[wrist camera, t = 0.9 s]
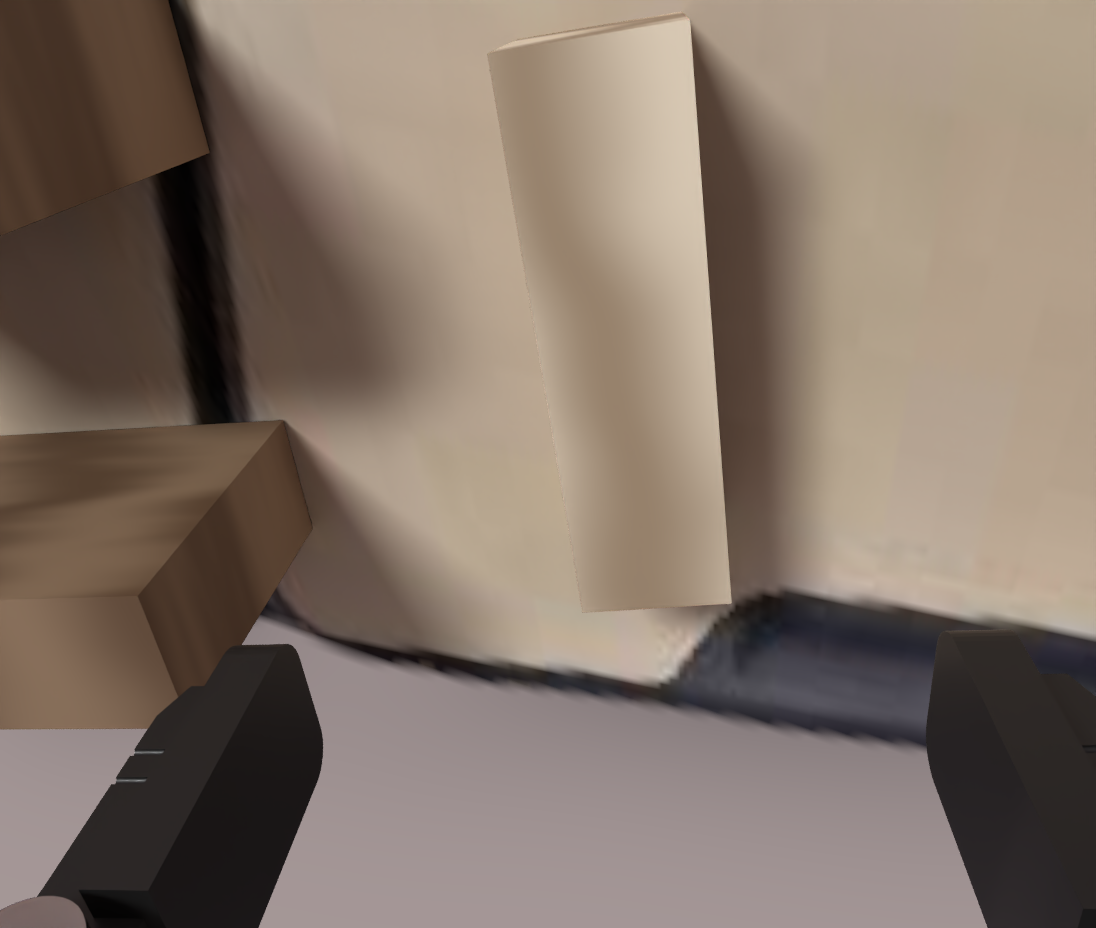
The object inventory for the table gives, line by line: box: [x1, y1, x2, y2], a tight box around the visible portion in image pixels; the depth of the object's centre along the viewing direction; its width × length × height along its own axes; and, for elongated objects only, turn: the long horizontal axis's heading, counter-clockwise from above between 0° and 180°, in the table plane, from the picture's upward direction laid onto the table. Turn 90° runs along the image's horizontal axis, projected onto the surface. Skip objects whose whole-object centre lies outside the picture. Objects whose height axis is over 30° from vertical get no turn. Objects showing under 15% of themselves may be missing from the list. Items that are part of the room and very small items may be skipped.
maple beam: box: [487, 12, 732, 613], centre depth 23 cm, size 4×14×5 cm, turn 9°
